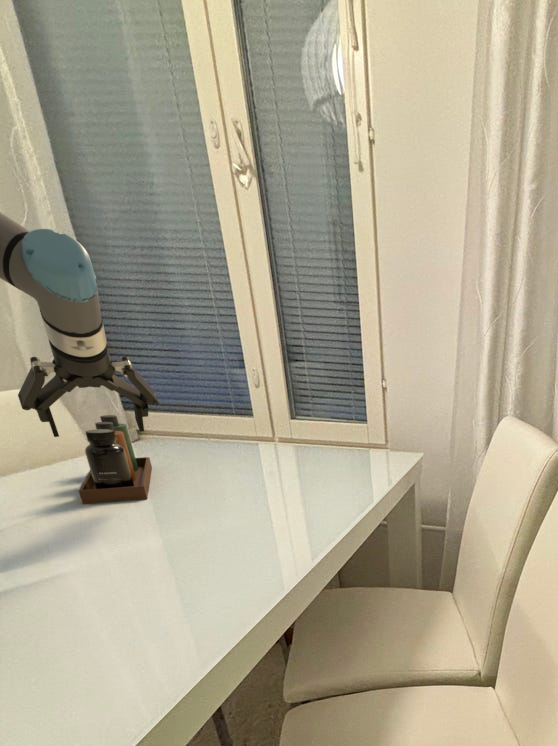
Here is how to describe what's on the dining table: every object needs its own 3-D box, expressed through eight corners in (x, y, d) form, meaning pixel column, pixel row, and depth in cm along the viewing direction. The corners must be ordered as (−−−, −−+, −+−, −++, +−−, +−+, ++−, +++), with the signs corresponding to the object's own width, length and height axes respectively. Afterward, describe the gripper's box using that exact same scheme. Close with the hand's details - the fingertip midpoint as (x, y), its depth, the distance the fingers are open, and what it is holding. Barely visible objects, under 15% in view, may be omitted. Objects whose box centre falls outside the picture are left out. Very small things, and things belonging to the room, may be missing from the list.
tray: (82, 504, 107) (78, 491, 106) (98, 471, 130) (95, 460, 129) (147, 499, 112) (143, 486, 110) (152, 467, 134) (149, 457, 133)
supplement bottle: (108, 497, 110) (88, 435, 104) (91, 492, 113) (71, 430, 107) (142, 491, 115) (125, 430, 109) (125, 485, 118) (107, 426, 112)
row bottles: (103, 484, 118) (85, 425, 112) (110, 468, 130) (94, 414, 124) (135, 482, 120) (119, 424, 114) (139, 466, 133) (124, 413, 127)
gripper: (-20, 360, 77) (21, 451, 95) (174, 360, 90) (178, 439, 108) (-34, 316, 78) (9, 414, 96) (160, 322, 91) (166, 407, 109)
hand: (98, 428), depth 102 cm, fingers open, 13 cm apart
